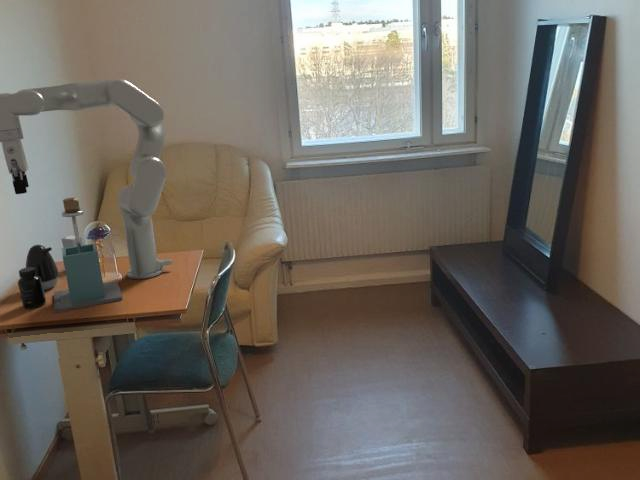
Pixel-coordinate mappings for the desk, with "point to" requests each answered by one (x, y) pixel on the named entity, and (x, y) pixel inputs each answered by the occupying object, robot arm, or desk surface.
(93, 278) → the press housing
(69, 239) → the skincare box
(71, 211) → the plunger
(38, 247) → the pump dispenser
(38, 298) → the supplement bottle
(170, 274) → the desk surface
